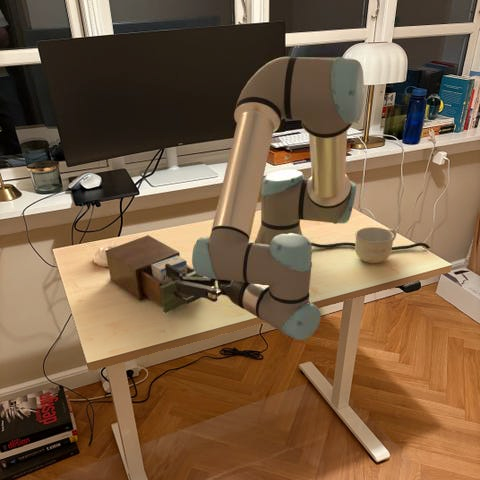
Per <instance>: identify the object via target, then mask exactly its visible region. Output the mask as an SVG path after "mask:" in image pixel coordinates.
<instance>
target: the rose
mask: <svg viewBox="0 0 480 480" xmlns="http://www.w3.org/2000/svg"><path fill="white" fill-rule="evenodd" d="M114 247H117V246H115V245H102V246H100V247H99V248H98V249H97V250H96V251H95V253H94V259H93V262H94V264H96V265H98V266H99V267H104V268H105V267H106V268H108V263H107V258H106V252H105V251H106V250H108V249H111V248H114Z"/></svg>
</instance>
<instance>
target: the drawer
mask: <svg viewBox="0 0 480 480" xmlns="http://www.w3.org/2000/svg"><path fill="white" fill-rule="evenodd" d="M187 273H188V274H187V275H186V276H188V277H203V276H199V275H198V274H197V273H196V272H195V271H194V269H193V266H190V265H188V264H187ZM139 277H140V283H141V290H142V294H144V295H145V296H146V297H148V298H147V299H149V300H151V301H152V302H154V303H155V304H156V305H158V306H160V307H161V309H162V313H164V314H168V313H170V312H172V311H174V310H176V309H178V308H180V307H182V306H185V305H190V304H192V303H194V302H196V301H198V300H200V299H202V298H201V297H196V296H191V295H186V294H181V293H176V289H175V282H173V281H171V282H169V283H166V284H164V285H162V283H161V282H160V281H158V280H156V279H155V278H153V274H152V267H149V268H147V269H144V270H142V271H139Z"/></svg>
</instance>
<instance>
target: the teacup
mask: <svg viewBox="0 0 480 480" xmlns="http://www.w3.org/2000/svg"><path fill="white" fill-rule="evenodd" d="M396 237H397V231H396V229H394V228H389V229H386V228H382V227H365V228H361V229H358V230H356V232H355V242H354V243H355V246H354V251H355V254H356V256H357V258H359V259H360V260H362V262H364V263H367V264H378V263H382V262H383V261H385V260H387V259H388V258H389V257H390V256H391V254H392V251H393V250H392V247H393V243H394V241H395V239H396Z"/></svg>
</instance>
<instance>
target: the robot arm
mask: <svg viewBox="0 0 480 480" xmlns="http://www.w3.org/2000/svg"><path fill="white" fill-rule="evenodd" d="M364 78H365V76H364V69H363V66H362V64H361V62H360V61H358V60H357V59H355V58H347V57H343V56H337V57H311V56H310V57H308V56H307V57H301V56H300V57H299V56H298V57H296V56H295V57H294V56H281V57H278V58H275V59H273V60H271V61H269V62H267V63H266V64H264V65H263V66H262V67H260V68H259V69H258V70H257V71H256V72H255V73H254V74H253V75H252V76H251V78H249V80H248V81H247V82H246V84H245V86H244V87H243V89H242V90H241V93H240V94H239V97H238V98H237V101H236V105H235V109H234V112H233V119H234V121H235V123H236V127H235V131H234V135H233V139H232V142H231V147H230V152H229V155H228V160H227V165H226V168H225V173H224V175H223V180H222V184H221V189H220V193H219V197H218V201H217V205H216V209H215V214H214V218H213V222H212V226H211V232H210V235H209V236H205V237H204V236H203V237H199V238H198V239H197V240H196V242H195V243H194V245H193V248H192V253H191V261H192V262H191V263H192V268H193V269H194V271H195V272H196V273H197V274H198V275H199V276H203V277H188V276H186V275H185V273H183V272H182V271H180V270H178V269H176V268H175V267H173V266H171V265H170V264H165V269H166V275H167V276H169V277H170V278H171V280H172V281H173V282H175V289H176V293H181V294H186V295H191V296H196V297H201V298H200V299H207V300H209V301H210V302H214V303H215V302H217V301H218V297H219V296H225V297H227V298H228V299H229V300H230V301H231V303H233V304H234V305H236V306H238V307H239V308H240V309H242V310H245V311H246V312H248V313H250V314H251V315H253V316H255V317H256V318H258V319H260V320H261V321H263V322H265V323H267V324H268V325H270V326H271V327H273V328H274V329H276V330H277V331H279V332H281V333H282V334H283V335H286V336H288V337H291V338H292V339H295V340H297V341H304V340H307V339H308V338H309V337H310V338H311V336H312V335H313V334H314V333H315V332H316V331H317V329H318V328H319V326H320V322H321V317H322V313H321V311H320V308H319V307H318V306H317V305H315V304H314V303H313V302H310V286H311V275H312V267H313V261H312V256H313V255H312V254H313V253H312V252H313V251H312V250H313V249H312V248H313V247H315V248H321V249H328V248H329V249H330V248H335V247H344V246H345V247H346V246H347V247H355V242H336V243H329V244H328V243H327V244H320V243H315V242H311V241H310V240H309V239H308V237H306V236H304V235H303V232H302V228H301V221H311V222H318V223H319V222H320V223H321V222H322V223H330V224H334V225H337V224H347V223H348V222H349V221H350V218H351V216H352V212H353V207H354V204H355V199H356V192H357V184H356V182H354V181H352V180H350V178H349V176H348V175H347V173H346V170H347V144H348V131H349V130H350V128H351V127H352V126H353V124H355V123H358V122H359V121H360V120H361V117H362V112H363V107H364V98H365V97H364V96H365V95H364V94H365V93H364V89H365V79H364ZM282 120H294V121H295V120H296V121H300V122H301V126H302V128H303V130H304V131H305V132H306V133H307V134H308V138H309V139H308V141H309V154H310V156H309V157H310V168H311V176H310V178H305V177H304V173H303V172H302V171H300V170H297V169H282V170H278V171H277V170H276V171H274V172H271V173H269V174H267V175H266V176H264V175H265V171H266V166H267V162H268V156H269V152H270V148H271V144H272V138H273V136H274V135H273V134H274V133H275V132H276V131H278V130H279V128H280V125H281V121H282ZM260 197H261V198H260ZM259 198H260V200H261V202H260V203H261V204H260V225H259V229H258V232H257V234H256V236H255V238H254V242H250V238H251V234H252V231H253V226H254V221H255V216H256V212H257V207H258V204H259V203H258V202H259ZM417 247H424V248H426V249H431V247H430V246H429V244H428V243H425V242H417V243H412V244H408V245H398V246H392V250H391V251H397V250H407V249H408V250H409V249H412V248H417ZM216 282H217V286H216Z"/></svg>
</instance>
